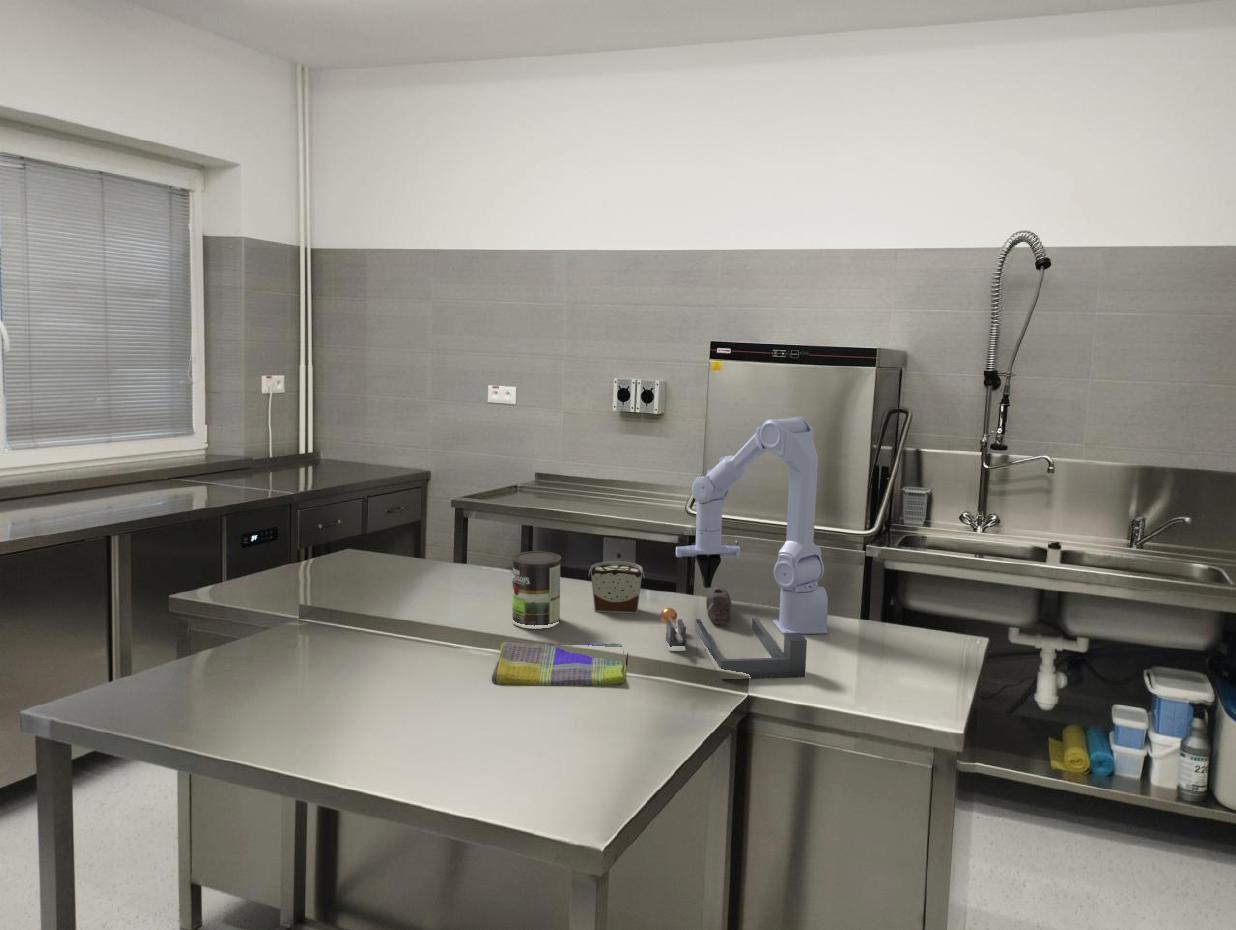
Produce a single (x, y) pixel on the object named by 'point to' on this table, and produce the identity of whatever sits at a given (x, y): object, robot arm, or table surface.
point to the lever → (672, 615)
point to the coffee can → (536, 588)
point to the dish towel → (554, 666)
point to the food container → (616, 586)
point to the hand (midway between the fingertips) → (706, 586)
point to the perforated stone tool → (719, 605)
